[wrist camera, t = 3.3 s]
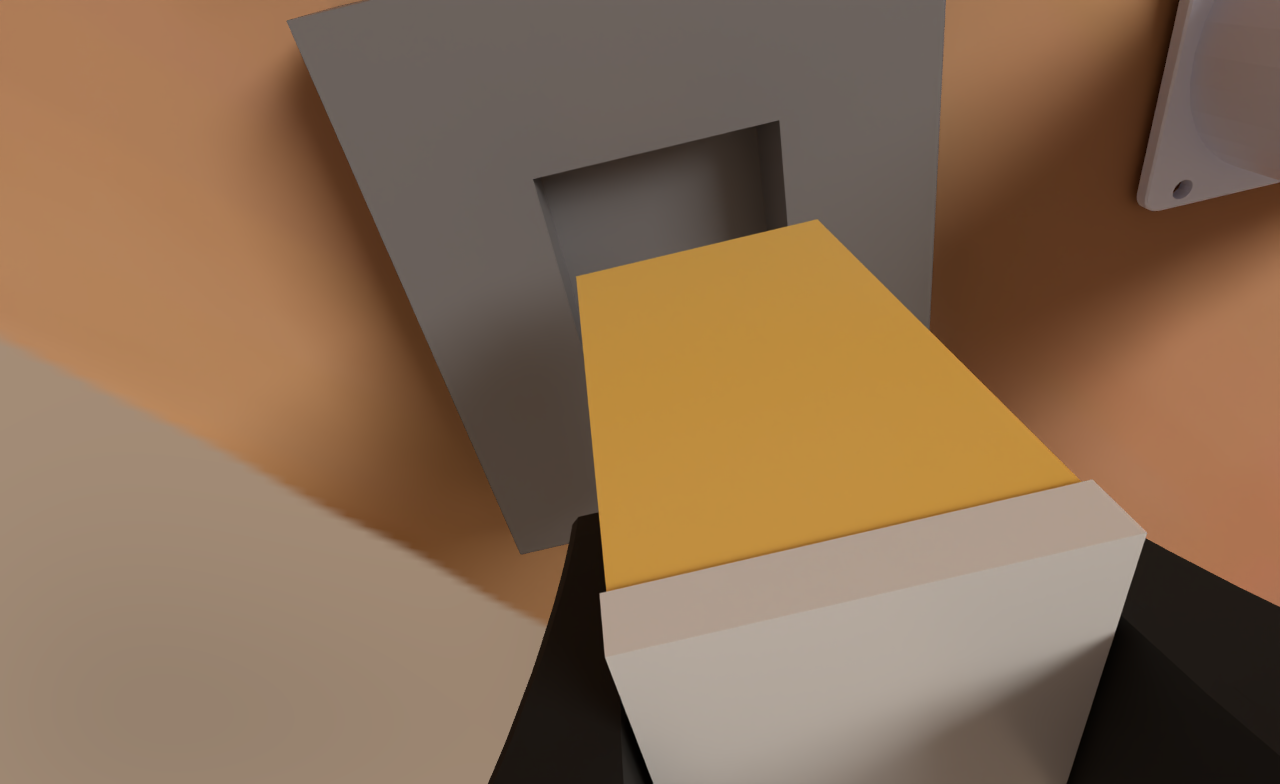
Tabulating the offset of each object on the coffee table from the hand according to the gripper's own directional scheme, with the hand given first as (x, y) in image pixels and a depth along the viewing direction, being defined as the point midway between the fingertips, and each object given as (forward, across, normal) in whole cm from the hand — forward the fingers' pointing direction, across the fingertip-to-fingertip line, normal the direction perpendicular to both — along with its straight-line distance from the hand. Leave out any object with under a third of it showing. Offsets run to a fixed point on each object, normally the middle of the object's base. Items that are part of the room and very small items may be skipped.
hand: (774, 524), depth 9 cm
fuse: (+4, 0, 0) cm, 4 cm away
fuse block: (+10, 0, 0) cm, 10 cm away
